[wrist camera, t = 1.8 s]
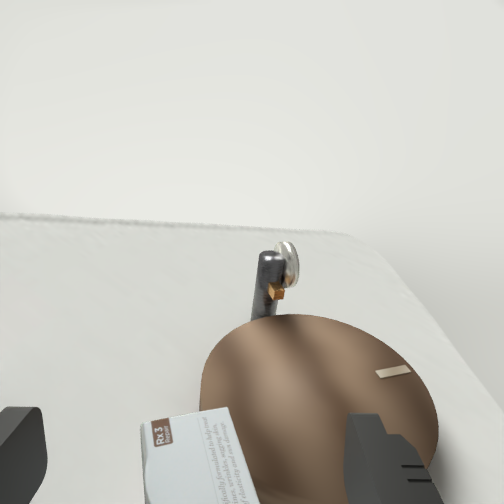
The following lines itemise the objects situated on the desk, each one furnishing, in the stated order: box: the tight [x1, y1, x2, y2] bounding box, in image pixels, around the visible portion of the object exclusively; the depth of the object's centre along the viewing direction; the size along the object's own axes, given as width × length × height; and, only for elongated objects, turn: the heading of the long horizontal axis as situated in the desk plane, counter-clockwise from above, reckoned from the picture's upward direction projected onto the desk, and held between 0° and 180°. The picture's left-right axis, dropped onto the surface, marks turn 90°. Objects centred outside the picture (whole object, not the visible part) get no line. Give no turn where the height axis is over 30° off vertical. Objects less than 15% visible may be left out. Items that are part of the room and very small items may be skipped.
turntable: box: [199, 314, 439, 504], centre depth 34 cm, size 18×18×2 cm
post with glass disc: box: [250, 242, 299, 322], centre depth 42 cm, size 5×3×9 cm, turn 19°
